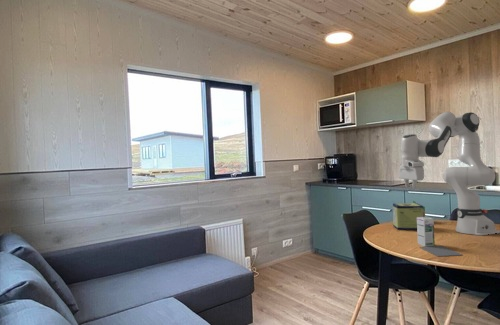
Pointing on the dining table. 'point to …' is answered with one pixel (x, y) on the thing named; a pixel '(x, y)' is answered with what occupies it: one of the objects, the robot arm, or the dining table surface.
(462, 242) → the dining table surface
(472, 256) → the dining table surface
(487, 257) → the dining table surface
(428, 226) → the syrup box
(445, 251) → the mat
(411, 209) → the protein box
